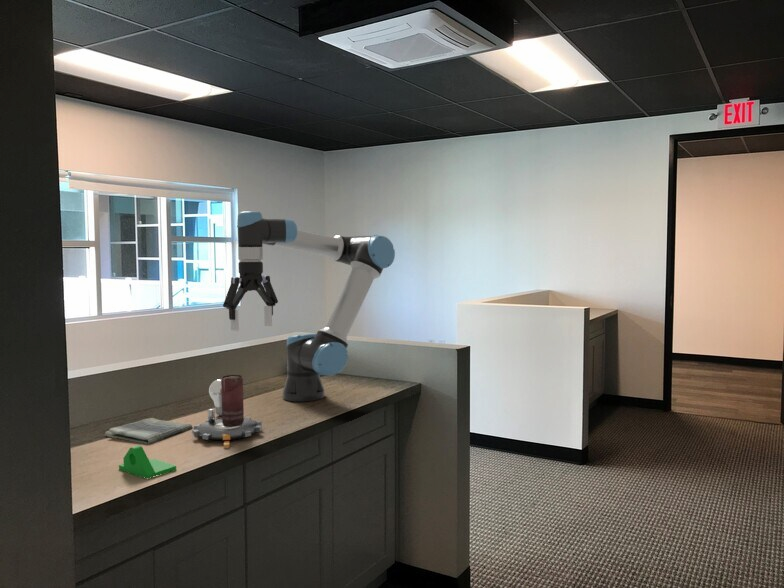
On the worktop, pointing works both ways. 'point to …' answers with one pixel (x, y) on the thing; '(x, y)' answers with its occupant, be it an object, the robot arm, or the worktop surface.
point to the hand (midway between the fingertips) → (252, 328)
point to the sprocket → (225, 428)
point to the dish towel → (147, 430)
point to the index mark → (226, 444)
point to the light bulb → (216, 395)
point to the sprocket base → (230, 439)
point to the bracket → (144, 464)
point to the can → (232, 400)
